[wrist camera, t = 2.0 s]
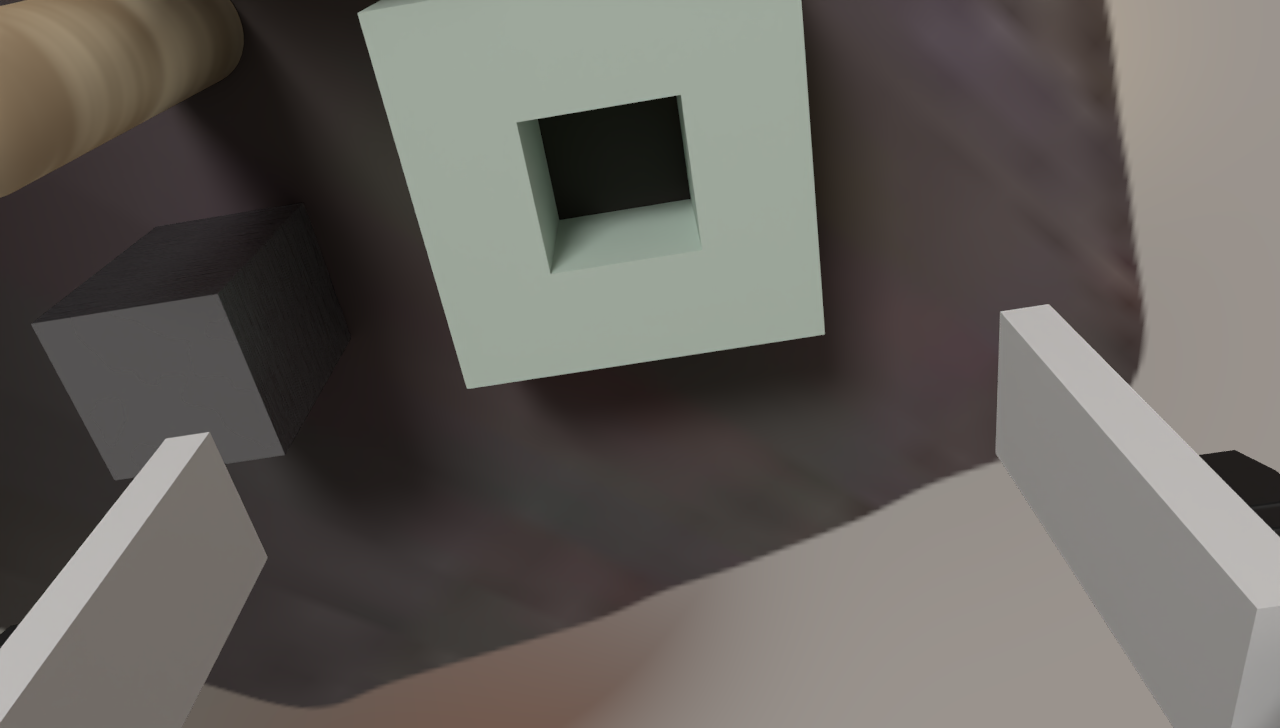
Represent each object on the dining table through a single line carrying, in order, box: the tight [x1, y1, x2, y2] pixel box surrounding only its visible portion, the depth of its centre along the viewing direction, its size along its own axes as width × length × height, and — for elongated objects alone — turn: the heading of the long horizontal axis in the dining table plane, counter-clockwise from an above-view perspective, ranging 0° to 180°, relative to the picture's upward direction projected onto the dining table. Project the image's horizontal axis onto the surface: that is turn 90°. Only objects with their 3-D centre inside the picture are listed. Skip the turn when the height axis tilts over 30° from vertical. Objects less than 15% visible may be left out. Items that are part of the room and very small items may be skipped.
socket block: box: [357, 0, 825, 389], centre depth 30 cm, size 12×12×5 cm
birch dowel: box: [0, 0, 244, 198], centre depth 24 cm, size 4×4×12 cm
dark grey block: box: [31, 202, 351, 480], centre depth 30 cm, size 6×6×8 cm
